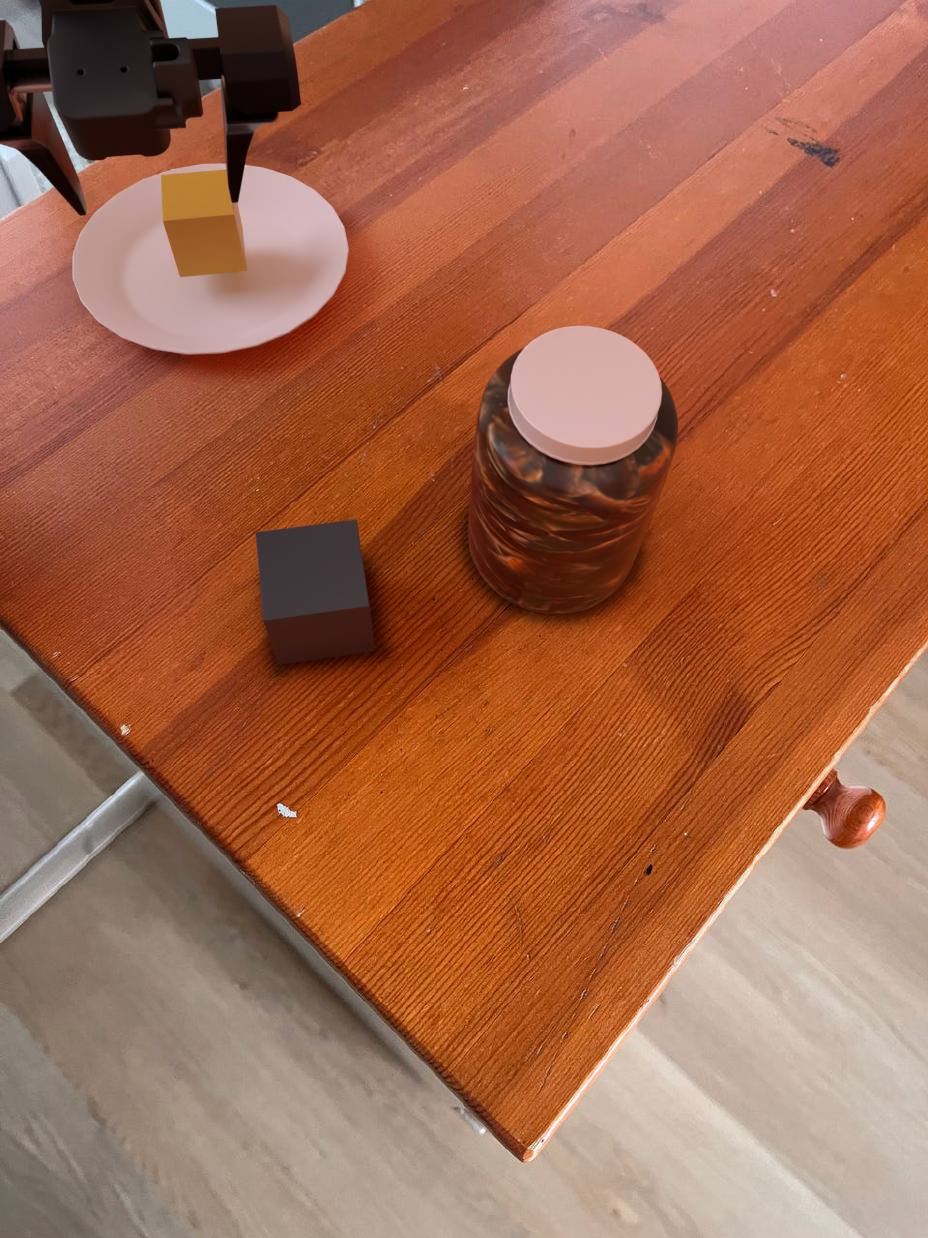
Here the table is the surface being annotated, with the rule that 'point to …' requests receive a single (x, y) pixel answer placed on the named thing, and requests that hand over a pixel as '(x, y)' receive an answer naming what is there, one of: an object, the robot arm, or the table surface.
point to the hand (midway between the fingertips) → (159, 204)
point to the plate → (216, 303)
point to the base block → (314, 591)
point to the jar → (568, 468)
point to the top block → (202, 223)
